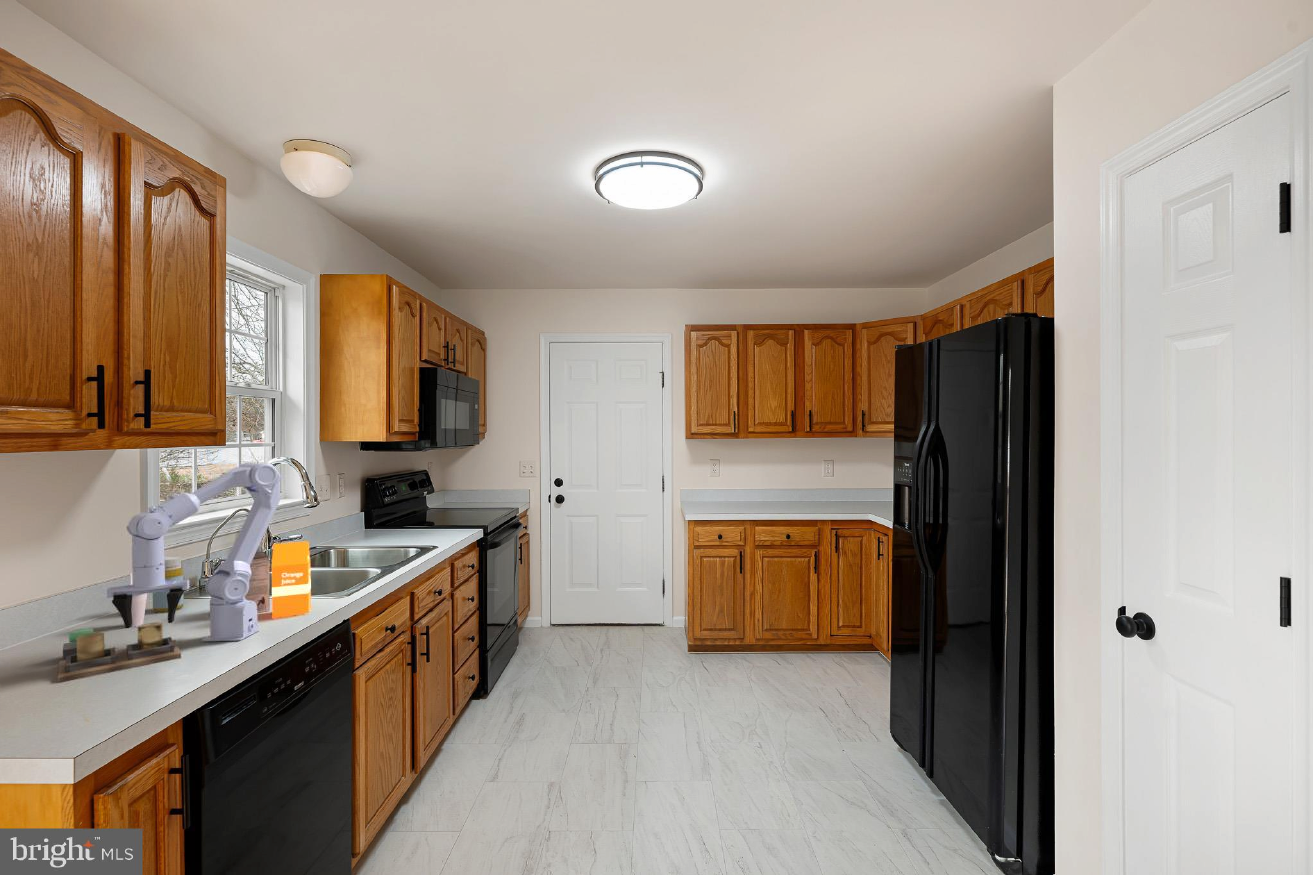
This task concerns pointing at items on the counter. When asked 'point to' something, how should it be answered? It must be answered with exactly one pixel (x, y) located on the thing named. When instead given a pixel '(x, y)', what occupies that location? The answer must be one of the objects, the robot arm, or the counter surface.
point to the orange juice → (291, 579)
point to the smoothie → (138, 607)
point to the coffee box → (259, 582)
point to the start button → (78, 634)
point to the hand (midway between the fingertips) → (150, 624)
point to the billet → (150, 636)
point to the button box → (69, 649)
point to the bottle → (171, 574)
